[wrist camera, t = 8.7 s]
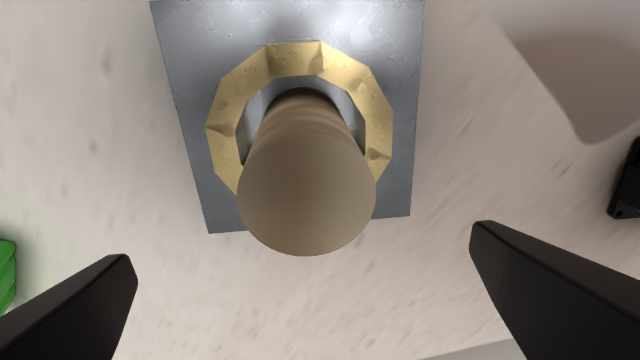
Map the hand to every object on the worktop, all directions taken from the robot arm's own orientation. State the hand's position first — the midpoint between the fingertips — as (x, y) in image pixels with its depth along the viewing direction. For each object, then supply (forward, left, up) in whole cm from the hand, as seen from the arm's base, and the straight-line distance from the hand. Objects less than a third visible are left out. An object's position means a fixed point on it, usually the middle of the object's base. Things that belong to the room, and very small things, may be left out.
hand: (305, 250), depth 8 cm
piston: (0, 0, -12) cm, 12 cm away
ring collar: (0, 0, -13) cm, 13 cm away
